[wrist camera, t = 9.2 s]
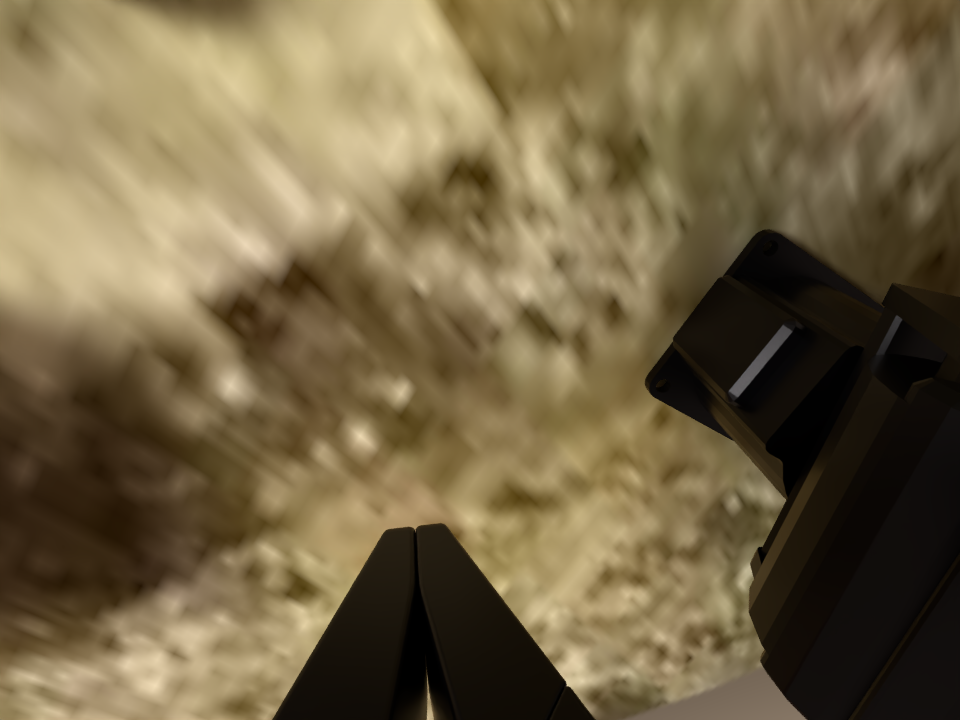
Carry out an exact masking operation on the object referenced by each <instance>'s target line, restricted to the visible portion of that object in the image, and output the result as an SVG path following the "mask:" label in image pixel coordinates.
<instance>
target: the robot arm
mask: <svg viewBox="0 0 960 720" xmlns="http://www.w3.org/2000/svg"><path fill="white" fill-rule="evenodd" d="M768 241H771V247H770V249H769V250H768V251H767V252H764V253H763V247H764V244H765V243H767V242H768ZM882 304H883V305H884V306H885V308H883V307H882V306H881V305H879V304H878V303H876V302H875V301H873V300H872V299H871V298H869V297H868V296H866V295H865V294H864V293H862V292H861V291H859V290H858V289H857V288H855V287H854V286H852V285H851V284H850V283H848V282H847V281H845V280H844V279H843V278H841V277H840V276H838V275H837V274H836V273H834V272H833V271H831V270H830V269H829V268H827V267H826V266H824V265H823V264H822V263H820V262H819V261H817V260H816V259H814V258H813V257H812V256H810V255H809V254H807V253H806V252H805V251H803V250H802V249H800V248H799V247H798V246H796V245H795V244H793V243H792V242H791V241H789V240H788V239H786V238H785V237H784V236H782V235H781V234H778V233H776V232H774V231H772V230H762V231H760V232H758V233H757V234H756V235H755V236H754V237H753V238H752V239H751V240H750V241H749V243H748V244H747V245H746V247H745V248H744V249H743V251H742V252H741V253H740V255H739V256H738V257H737V258H736V260H735V261H734V262H733V264H732V265H731V266H730V268H729V269H728V270H727V272H726V273H725V274H724V276H723V277H720V278H718V279H717V281H716V282H715V283H714V285H713V286H712V287H711V288H710V290H709V291H708V292H707V294H706V295H705V296H704V298H703V299H702V300H701V302H700V303H699V304H698V306H697V307H696V308H695V309H694V311H693V312H692V313H691V315H690V316H689V317H688V319H687V320H686V321H685V323H684V324H683V325H682V327H681V328H680V329H679V330H678V332H677V333H676V334H675V336H674V337H673V342H672V344H671V345H670V346H669V348H668V349H667V350H666V351H665V353H664V354H663V355H662V357H661V358H660V359H659V361H658V362H657V363H656V365H655V366H654V367H653V369H652V370H651V371H650V372H649V374H648V375H647V377H646V379H645V386H646V388H647V390H648V391H649V393H650V394H651V395H652V396H653V397H654V398H656V399H658V400H660V401H662V402H664V403H665V404H667V405H669V406H671V407H673V408H675V409H676V410H678V411H680V412H682V413H684V414H685V415H687V416H689V417H691V418H693V419H695V420H696V421H698V422H700V423H702V424H704V425H706V426H707V427H709V428H711V429H713V430H715V431H716V432H718V433H720V434H722V435H724V436H726V437H727V438H729V439H731V440H733V441H735V442H736V444H737V445H738V446H739V447H740V448H741V449H742V450H743V451H744V453H745V454H746V455H747V456H748V457H749V458H750V459H751V460H752V462H753V463H754V464H755V465H756V466H757V467H758V468H759V469H760V471H761V472H762V473H763V474H764V475H765V476H766V477H767V479H768V480H769V481H770V482H771V483H772V484H773V485H774V486H775V488H776V489H777V490H778V491H779V492H780V493H781V494H782V495H783V497H784V498H785V499H786V502H785V504H784V506H783V508H782V510H781V512H780V514H779V516H778V518H777V520H776V522H775V524H774V526H773V528H772V530H771V532H770V534H769V536H768V538H767V540H766V541H765V543H764V545H763V547H759V548H758V549H757V550H756V552H755V554H754V556H753V558H752V560H751V562H750V565H751V569H752V573H753V577H754V581H753V582H752V584H751V586H750V590H749V614H750V617H751V619H752V622H753V624H754V627H755V629H756V632H757V634H758V637H759V639H760V642H761V644H762V646H763V647H764V651H763V653H762V655H761V660H760V661H761V663H762V666H763V668H764V669H765V671H766V672H767V674H768V675H769V676H770V678H771V679H772V680H773V682H774V683H775V684H776V686H777V687H778V688H779V690H780V691H781V692H782V694H783V695H784V696H785V698H786V699H787V700H788V701H789V702H790V703H791V704H792V705H793V706H794V707H795V708H796V709H797V710H798V711H799V712H800V713H801V714H802V715H803V716H804V717H805V718H806V719H807V720H960V297H955V296H951V295H946V294H942V293H937V292H933V291H928V290H924V289H919V288H915V287H910V286H905V285H901V284H896V283H892V285H891V287H890V289H889V291H888V293H887V295H886V296H885V298H884V300H883V302H882ZM663 379H666V382H665V384H664V385H663V386H661V387H656V385H657V383H658V382H659V381H660V380H663ZM426 667H427V668H426ZM427 676H428V685H429V693H430V699H431V705H432V711H433V716H434V720H596V719H595V718H594V717H593V716H592V715H591V713H590V712H589V711H588V710H587V708H586V707H585V706H584V704H583V703H582V702H581V700H580V699H579V698H578V697H577V695H576V694H575V693H574V691H573V690H572V689H571V688H570V687H569V686H567V684H566V681H565V680H564V679H563V677H562V676H561V675H560V674H559V672H558V671H557V670H556V668H555V667H554V666H553V664H552V663H551V662H550V660H549V659H548V658H547V657H546V655H545V654H544V653H543V651H542V650H541V649H540V647H539V646H538V645H537V643H536V642H535V641H534V640H533V638H532V637H531V636H530V634H529V633H528V632H527V630H526V629H525V628H524V626H523V625H522V624H521V623H520V621H519V620H518V619H517V617H516V616H515V615H514V613H513V612H512V611H511V609H510V608H509V607H508V606H507V604H506V603H505V602H504V600H503V599H502V598H501V596H500V595H499V594H498V593H497V591H496V590H495V589H494V587H493V586H492V585H491V583H490V582H489V581H488V579H487V578H486V577H485V576H484V574H483V573H482V572H481V570H480V569H479V568H478V566H477V565H476V564H475V562H474V561H473V560H472V559H471V557H470V556H469V555H468V553H467V552H466V551H465V549H464V548H463V547H462V545H461V544H460V543H459V542H458V540H457V539H456V538H455V536H454V535H453V534H452V532H451V531H450V530H449V529H448V527H447V526H446V525H445V524H442V523H439V524H430V525H421V526H418V527H417V528H416V533H415V530H414V528H412V527H403V528H394V529H388V530H386V531H385V532H384V533H383V535H382V536H381V538H380V540H379V541H378V543H377V545H376V546H375V548H374V550H373V551H372V553H371V555H370V556H369V558H368V560H367V561H366V563H365V565H364V566H363V568H362V570H361V571H360V573H359V575H358V576H357V578H356V580H355V582H354V583H353V585H352V587H351V588H350V590H349V592H348V593H347V595H346V597H345V598H344V600H343V602H342V603H341V605H340V607H339V608H338V610H337V612H336V613H335V615H334V617H333V618H332V620H331V622H330V624H329V625H328V627H327V629H326V630H325V632H324V634H323V635H322V637H321V639H320V640H319V642H318V644H317V645H316V647H315V649H314V650H313V652H312V654H311V655H310V657H309V659H308V660H307V662H306V664H305V665H304V667H303V669H302V671H301V672H300V674H299V676H298V677H297V679H296V681H295V682H294V684H293V686H292V687H291V689H290V691H289V692H288V694H287V696H286V697H285V699H284V701H283V702H282V704H281V706H280V707H279V709H278V711H277V712H276V714H275V716H274V718H273V719H272V720H427V692H428V690H427Z"/></svg>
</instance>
